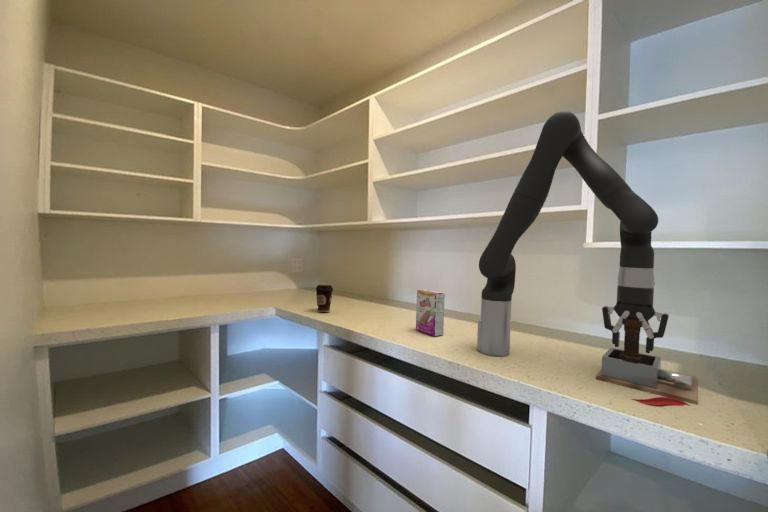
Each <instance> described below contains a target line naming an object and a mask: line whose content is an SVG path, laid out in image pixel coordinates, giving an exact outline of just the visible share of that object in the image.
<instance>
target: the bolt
mask: <svg viewBox="0 0 768 512" xmlns="http://www.w3.org/2000/svg"><path fill="white" fill-rule="evenodd" d="M619 319H620V317H619ZM619 319H618V320H619ZM621 322H622V324H623V325H622V326H623V330H624V340H623V341H624V342H623V350H624V353H621V354H620V355H619V359H621V360H625V361H630V362H635V363H640V364H642V363H643V358H642V357H641V356H639V353H640V338H641V337H640V336H641V328H643V327H642V324H643V321H639V320H634V319H624V318H622V321H621ZM644 325H645V324H644Z"/></svg>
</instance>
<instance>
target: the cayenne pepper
mask: <svg viewBox="0 0 768 512" xmlns="http://www.w3.org/2000/svg"><path fill="white" fill-rule="evenodd" d="M631 400H632V401H635V402H638V403H639V404H643V405H647V406H651V407H666V406H677V407H678V406H680V407H685V406H689V407H691V405H690V403H689V404H688V402H684V401H681V400H678V399H675V398H669V397H664V396H658V397H657V396H656V397H652V398H644V399H643V398H642V399H641V398H640V399H639V398H638V399H637V398H631Z"/></svg>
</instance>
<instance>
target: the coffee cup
mask: <svg viewBox="0 0 768 512" xmlns="http://www.w3.org/2000/svg"><path fill="white" fill-rule="evenodd" d="M315 290H316V291H315V292H316V306H317V309H316V310H317V312H324V313H325V312H327V313H328V312H331V309H330V308H331V303H332V298H333V296H332V294H333V291H334V288H333V286H332V285H331V284H317V286H316V288H315Z"/></svg>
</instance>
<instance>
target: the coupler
mask: <svg viewBox="0 0 768 512" xmlns="http://www.w3.org/2000/svg"><path fill="white" fill-rule="evenodd" d="M621 353H624V349H620V348H617V347H610V348H608V350H607V351H606V352H605V353H604V354H603V355H602V357H601V369H602V371H601V376H604V377H608V378H613V379H617V380H621V381H625V382H629V383H633V384H637V385H641V386H645V387H649V388H653V389H657V385H658V382H659V380H664V381H668V382H672V383H674V388H677V389H681V390H685V391H686V386H690V387H692V376H693V375H691V376H688V375H689V374H686V375H683V374H684V373H681V374H678V373H679V372H677V373H673V372H674V371H672V372H669V371H670V370H667V371H664V370H665V369H662V368H661V364H662V357H661V356H657V355H651V354H648V353H641V352H639V356H641V357H642V358H643V363H642V364H640V363H635V362H630V361H625V360H621V359H619V355H620V354H621ZM661 369H662V370H661Z"/></svg>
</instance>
